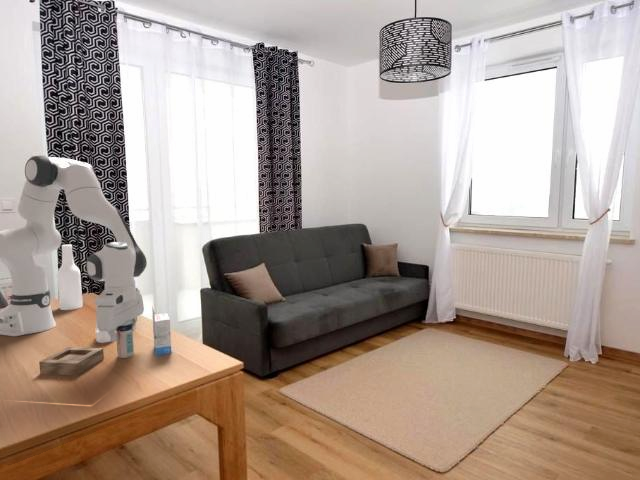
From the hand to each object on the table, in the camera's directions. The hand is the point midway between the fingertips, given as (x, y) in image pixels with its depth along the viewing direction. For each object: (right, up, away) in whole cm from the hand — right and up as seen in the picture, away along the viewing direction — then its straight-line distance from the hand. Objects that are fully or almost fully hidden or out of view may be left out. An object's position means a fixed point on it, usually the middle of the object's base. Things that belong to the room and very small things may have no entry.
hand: (123, 335), depth 136 cm
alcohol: (-49, -1, +55) cm, 74 cm away
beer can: (0, -7, +1) cm, 7 cm away
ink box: (+10, -7, +5) cm, 13 cm away
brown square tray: (-12, -8, -7) cm, 16 cm away
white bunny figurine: (-13, -6, +15) cm, 21 cm away
